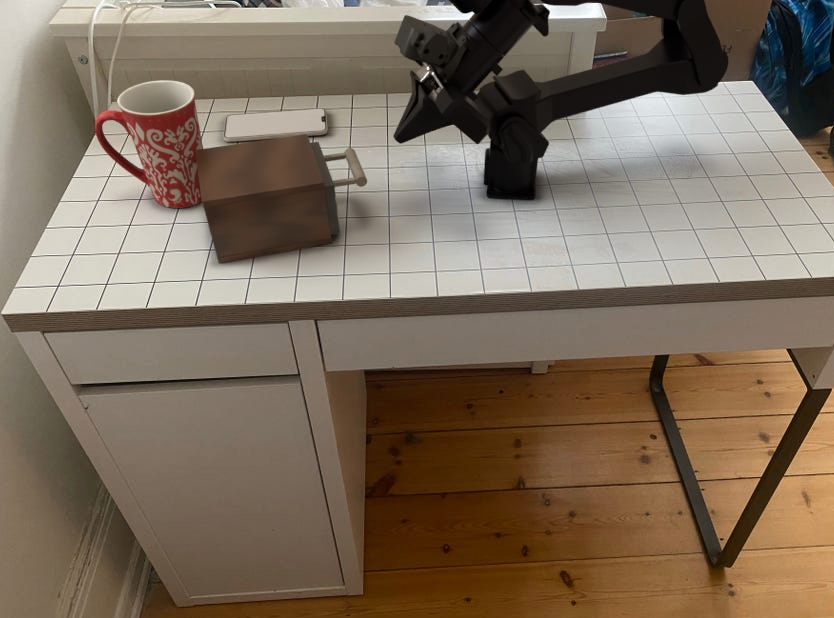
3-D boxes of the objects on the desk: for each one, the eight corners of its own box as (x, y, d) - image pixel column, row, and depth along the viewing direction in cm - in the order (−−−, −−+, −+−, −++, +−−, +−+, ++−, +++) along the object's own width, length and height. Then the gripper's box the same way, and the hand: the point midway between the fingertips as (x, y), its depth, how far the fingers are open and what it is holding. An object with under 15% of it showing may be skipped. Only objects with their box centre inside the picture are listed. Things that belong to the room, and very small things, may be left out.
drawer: (355, 183, 100) (351, 136, 95) (373, 227, 93) (369, 179, 88) (227, 203, 96) (216, 156, 91) (236, 250, 89) (224, 202, 84)
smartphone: (225, 114, 113) (325, 107, 115) (226, 118, 114) (326, 111, 115) (222, 139, 108) (327, 130, 109) (223, 143, 108) (328, 135, 110)
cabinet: (315, 193, 99) (307, 133, 93) (332, 243, 92) (324, 182, 86) (210, 210, 97) (195, 149, 91) (218, 263, 89) (201, 201, 83)
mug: (221, 172, 103) (198, 77, 93) (215, 210, 97) (190, 111, 87) (126, 178, 102) (93, 82, 92) (114, 217, 95) (77, 118, 86)
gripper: (415, -38, 87) (330, 68, 92) (465, 24, 74) (364, 141, 80) (477, 25, 94) (395, 119, 99) (532, 90, 81) (435, 193, 87)
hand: (396, 140), depth 91 cm, fingers closed
